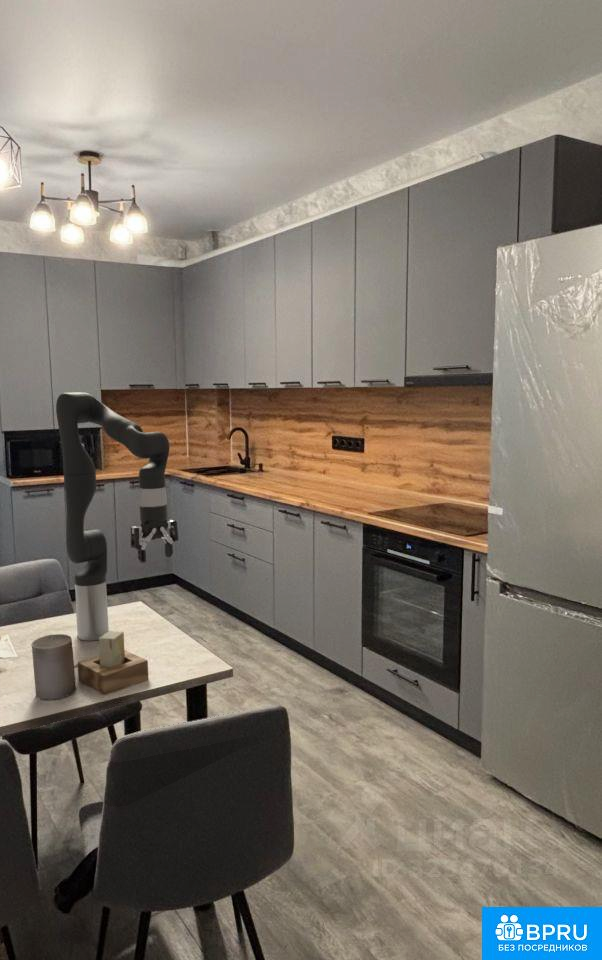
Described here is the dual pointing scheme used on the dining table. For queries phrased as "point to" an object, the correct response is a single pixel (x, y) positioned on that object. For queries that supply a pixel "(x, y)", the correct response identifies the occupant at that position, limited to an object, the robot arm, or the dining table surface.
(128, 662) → the socket block
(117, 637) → the skincare box
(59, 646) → the pillar candle
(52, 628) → the dining table surface
